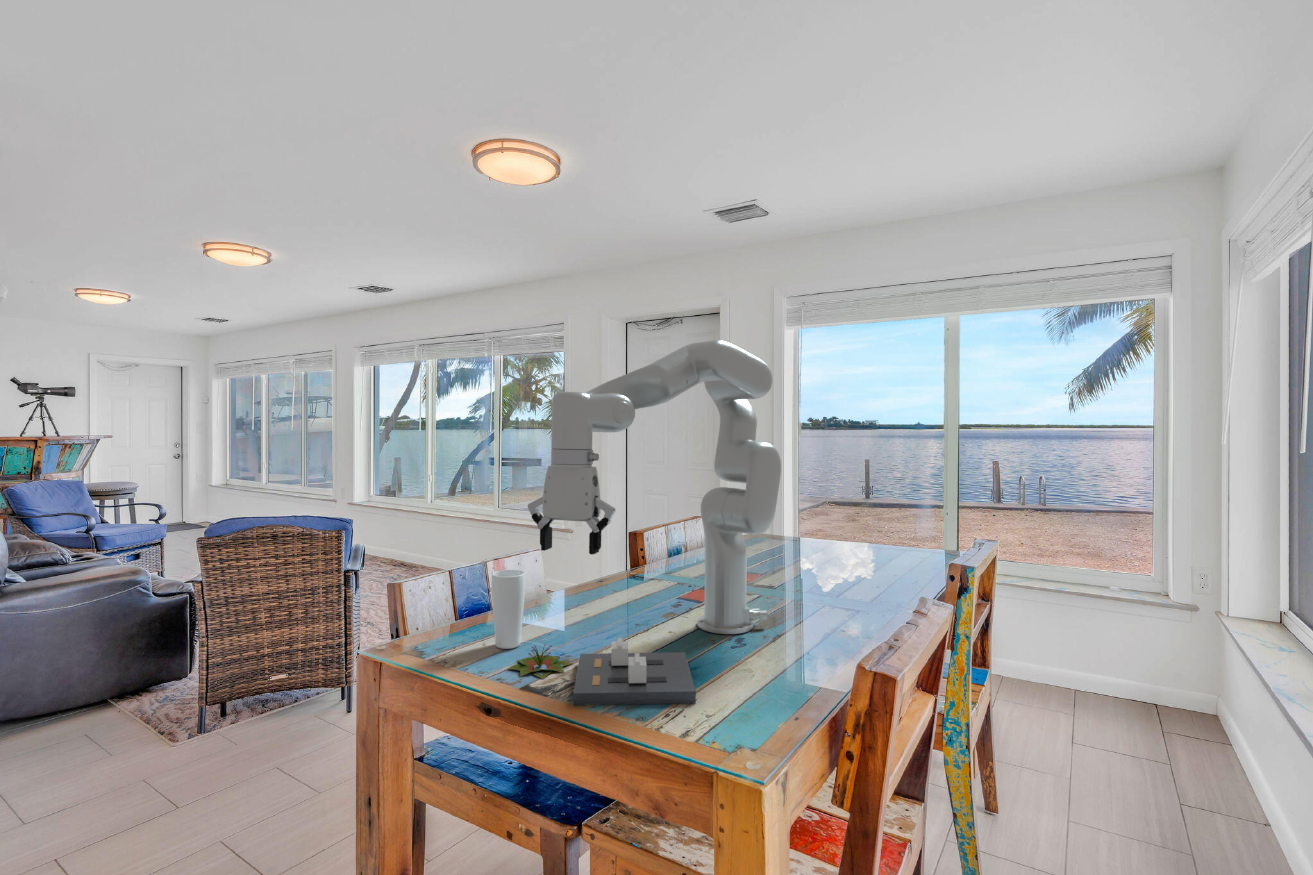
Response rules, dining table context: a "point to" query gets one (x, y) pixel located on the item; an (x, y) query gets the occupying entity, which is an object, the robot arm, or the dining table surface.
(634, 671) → the block
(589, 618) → the dining table surface
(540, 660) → the lily flower
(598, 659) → the breaker panel
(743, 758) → the dining table surface
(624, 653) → the breaker
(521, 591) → the drinking glass
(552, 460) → the robot arm
